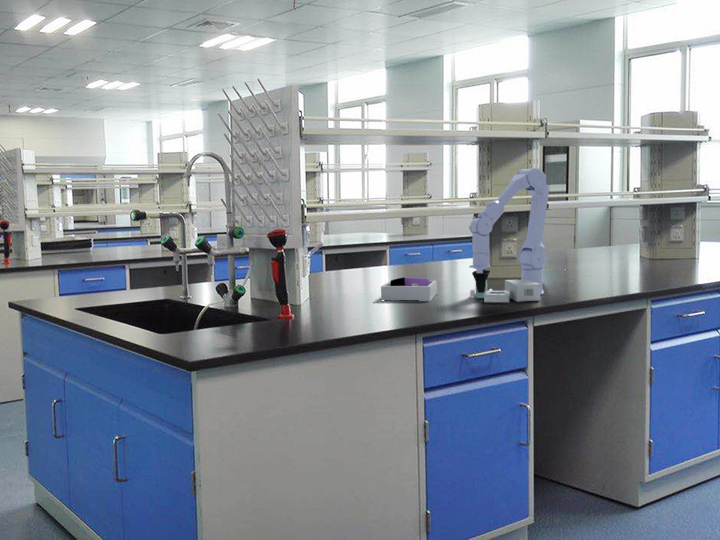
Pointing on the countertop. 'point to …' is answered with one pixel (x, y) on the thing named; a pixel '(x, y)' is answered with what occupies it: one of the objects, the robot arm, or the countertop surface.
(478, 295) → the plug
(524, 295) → the skincare box
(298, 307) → the countertop surface
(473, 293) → the holster
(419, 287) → the holder corral
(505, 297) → the port
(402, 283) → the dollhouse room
